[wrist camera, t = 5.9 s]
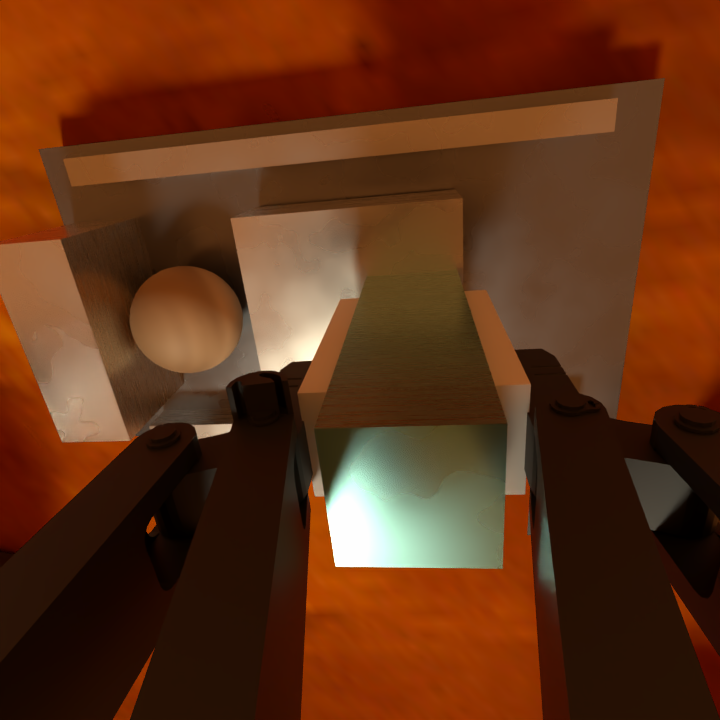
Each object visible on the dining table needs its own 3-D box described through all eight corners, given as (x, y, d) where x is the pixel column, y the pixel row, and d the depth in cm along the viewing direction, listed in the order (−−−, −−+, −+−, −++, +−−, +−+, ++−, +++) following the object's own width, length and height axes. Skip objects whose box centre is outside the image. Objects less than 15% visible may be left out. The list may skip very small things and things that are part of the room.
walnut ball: (211, 342, 24) (126, 378, 21) (189, 252, 22) (93, 277, 19) (272, 357, 21) (186, 402, 18) (253, 257, 19) (154, 288, 16)
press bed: (150, 421, 27) (75, 500, 21) (62, 148, 21) (-73, 152, 15) (603, 407, 24) (666, 496, 18) (645, 82, 18) (758, 55, 12)
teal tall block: (286, 381, 23) (151, 640, 11) (255, 207, 20) (17, 310, 8) (457, 375, 22) (509, 652, 10) (455, 189, 18) (527, 277, 7)
